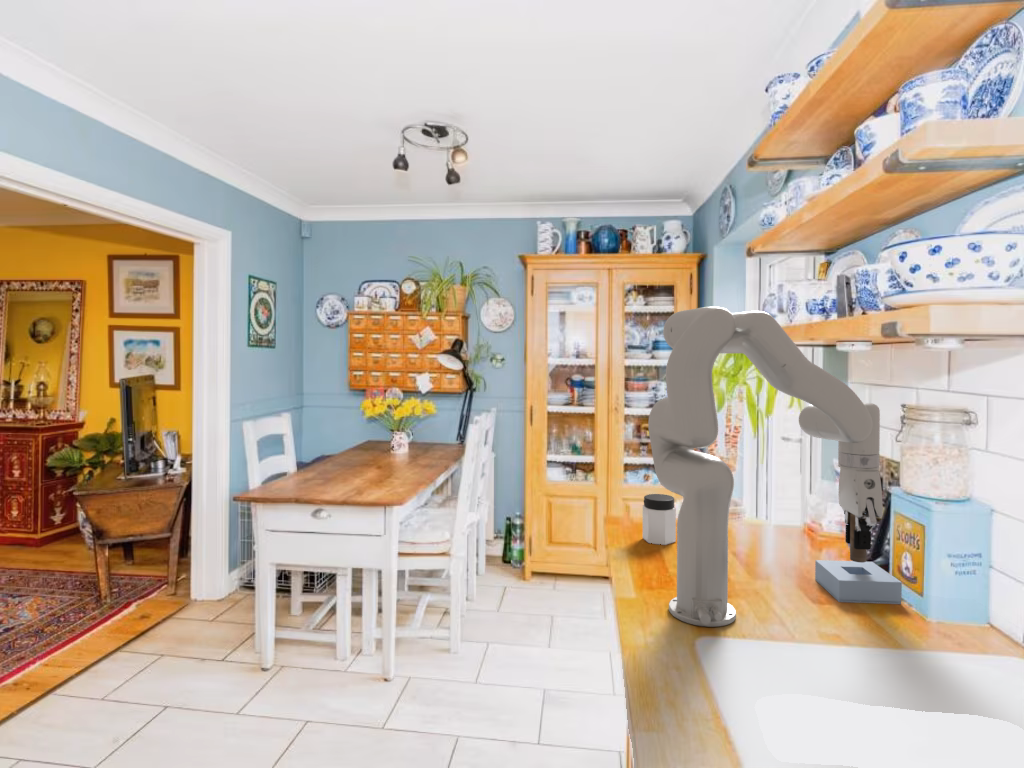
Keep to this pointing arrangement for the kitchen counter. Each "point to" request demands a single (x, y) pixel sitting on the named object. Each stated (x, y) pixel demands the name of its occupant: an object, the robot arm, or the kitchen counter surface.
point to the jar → (659, 519)
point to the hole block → (858, 582)
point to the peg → (855, 554)
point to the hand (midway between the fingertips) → (857, 545)
